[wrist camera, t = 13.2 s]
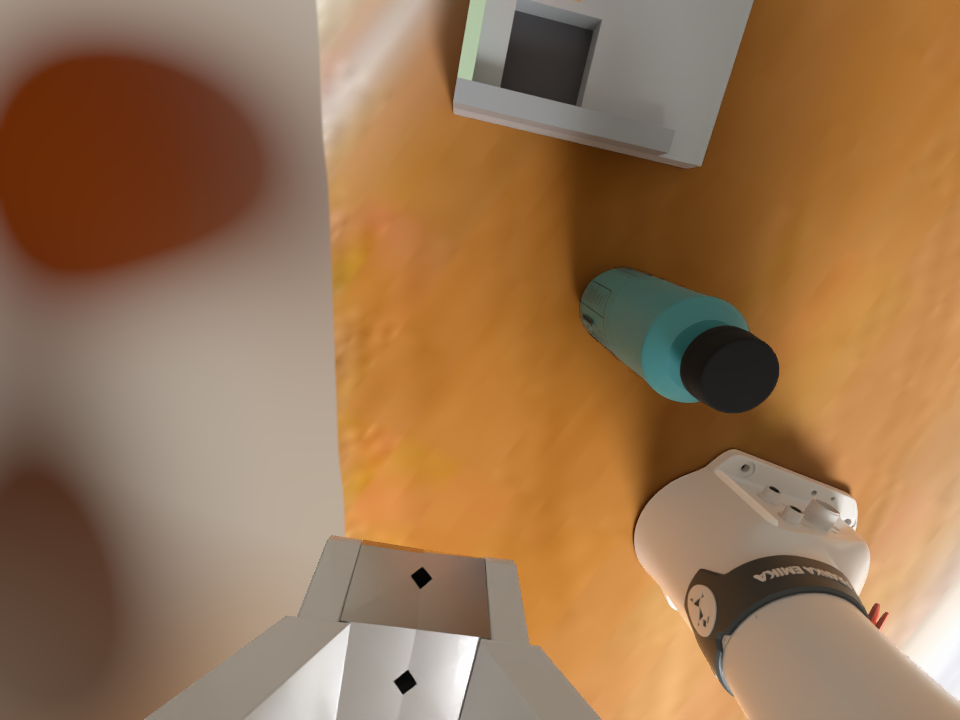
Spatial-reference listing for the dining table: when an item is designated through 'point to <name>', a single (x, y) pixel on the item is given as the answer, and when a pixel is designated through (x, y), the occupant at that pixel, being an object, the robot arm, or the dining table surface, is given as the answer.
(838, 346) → the dining table surface
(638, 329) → the beverage bottle
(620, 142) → the tray
